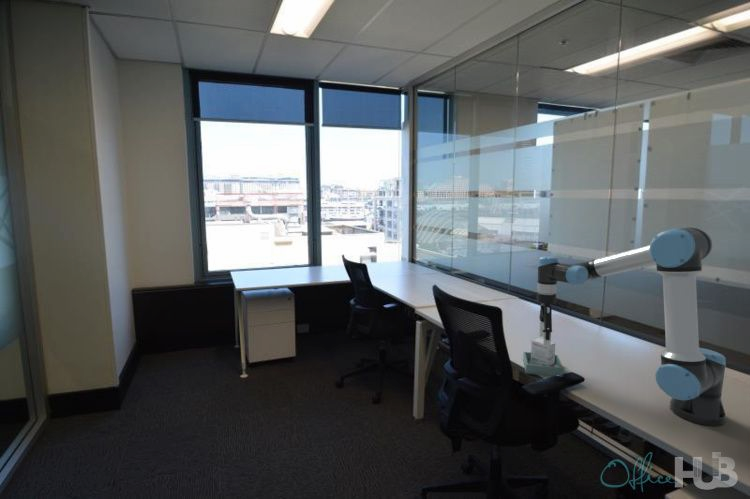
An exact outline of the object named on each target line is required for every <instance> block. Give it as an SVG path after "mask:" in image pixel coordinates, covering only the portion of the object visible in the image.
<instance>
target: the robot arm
mask: <svg viewBox="0 0 750 499" xmlns="http://www.w3.org/2000/svg"><path fill="white" fill-rule="evenodd" d="M711 238H712V237H711V236H709V234H708V233H707V232H706V231H704V230H702V229H700V228H697V227H681V228H670V229H667V230H664V231H661V232H659V233H657V234H656V236H654V237H653V238H652V239H651V241H650V244H648V245H643V246H640V247H635V248H632V249H628V250H625V251H622V252H621V251H620V252H618V253H614V254H611V255H606V256H602V257H599V258H596V259H591V260H587V261H583V262H576V263H561V262H559V259H558V257H557V256H550V255H544V256H540V257H539V258H538V263H537V265H538V266H537V282H536V284H537V286H536V292H537V293H536V302H538V303H539V304H540V310H539V317H538V318H539V333H538V337H543V338H542V339H543V347H550V346H551V342H552V341H551V340H552V333H553V321H552V320H553V319H552V312H553V311H552V310H553V309H552V308H553V307H551V305H552V304H555V303H557V294H556V293H557V289H558V288H559V286H558V285H557V284H558V282H561V283H566V284H571V285H574V286H575V285H576V286H577V285H579V286H582V285H584V284H585V283H586V282H587V281H590V280H592V281H593V280H596V279H599V278H604V277H607V276H612V275H616V274H622V273H626V272H630V271H635V270H638V269H644V268H648V267H652V266H656V272H657V273H658V274H659V275H661V276H662V287H663V288H662V290H663V291H662V292H663V293H662V294H663V310H664V311H663V312H664V313H663V314H664V330H665V333H664V334H665V336H664V337H665V348H664V350H662V351H661V352H660V366H659V367H658V368H657V370H656V371H655V381H656V384H657V385H658V387H659V389H660V390H662V392H663V393H664V394H666V395H667V396H669V397H670V398H671V399H670V402H669V409H670V411H671V410H672V411H673V412H672V411H671V412H672V413H673V414H675V415H676V416H678V417H679V418H682V419H685V420H686V421H689V422H692V423H695V424H698V425H702V426H703V425H704V426H709V427H710V426H712V427H718V426H722V425H725V423H726V417H727V416H726V412H725V409H724V408H725V407H724V404H723V401H722V400H723V399H722V395H723V394H722V393H723V386H724V378H725V371H726V367H727V364H726V363H727V362H726V361H727V359H726V356H724V355H723V354H722V353H719V352H717V351H714V350H711V349H708V348H704V347H703V348H702V347H700V341H699V338H700V337H699V318H698V314H699V313H698V298H697V297H698V296H697V276H698V275H699V274H700V273H701V272H703V271H702V265H703V264H702V261H703V260H704V259H706V258H707V257H708V256H709V255H710V254H711V252H712V250H713V242H712V239H711Z"/></svg>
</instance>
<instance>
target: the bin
mask: <svg viewBox="0 0 750 499" xmlns="http://www.w3.org/2000/svg"><path fill="white" fill-rule="evenodd" d="M522 361H523V367H524V371H525V372H524V373H525V374H527V375H535V376H536V375H537V376H545V377H552V376H557V375H563V376H564V366H563V364H562V362H561V359H560V357H559V355H558V354H555V364H554V367H551V366H542V365H533V364H531V351H529V352H528V351H523V355H522Z"/></svg>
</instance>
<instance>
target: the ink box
mask: <svg viewBox="0 0 750 499" xmlns="http://www.w3.org/2000/svg"><path fill="white" fill-rule="evenodd" d="M530 345H531V346H530V347H531V348H530V349H531V350H530V352H531V364H533V365H542V366H551V367H554V364H555V355H556V343H555V342H552V341H551V346H550V347H543V338H540V337H537V338H534V339H532V340H531V344H530Z"/></svg>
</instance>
